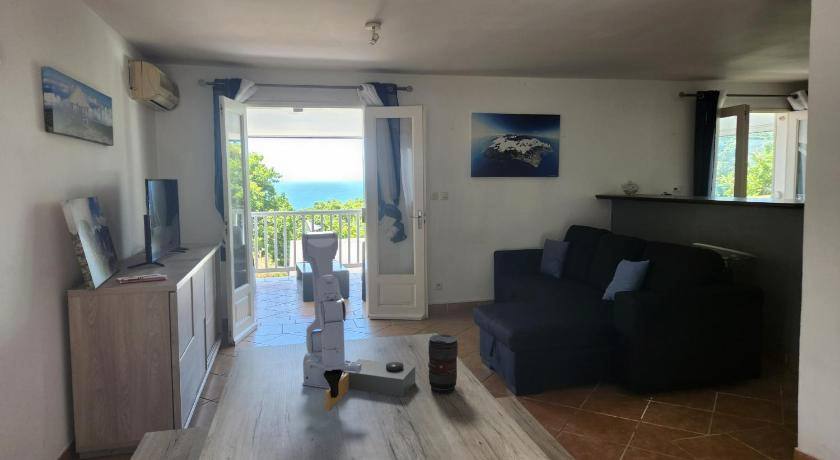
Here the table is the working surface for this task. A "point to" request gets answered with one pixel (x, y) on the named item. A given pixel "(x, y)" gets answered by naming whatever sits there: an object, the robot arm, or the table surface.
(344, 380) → the side door
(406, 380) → the camera housing
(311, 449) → the table surface
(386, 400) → the table surface
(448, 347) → the camera lens
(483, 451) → the table surface
